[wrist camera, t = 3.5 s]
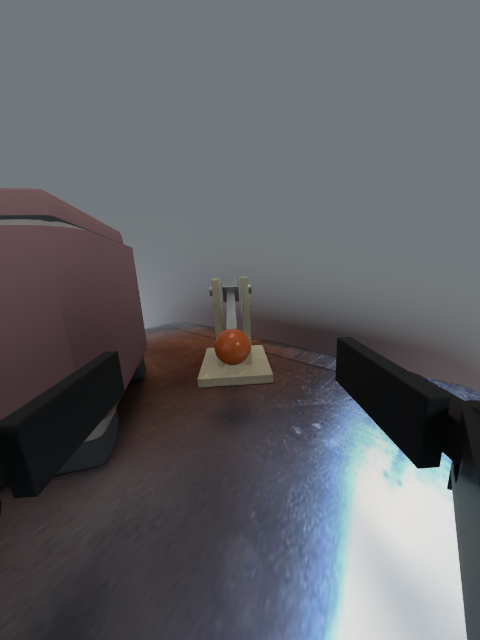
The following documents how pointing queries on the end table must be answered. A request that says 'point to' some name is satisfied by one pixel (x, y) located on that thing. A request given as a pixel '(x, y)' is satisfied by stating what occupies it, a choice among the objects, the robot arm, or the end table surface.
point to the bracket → (248, 370)
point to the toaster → (64, 306)
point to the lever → (231, 330)
